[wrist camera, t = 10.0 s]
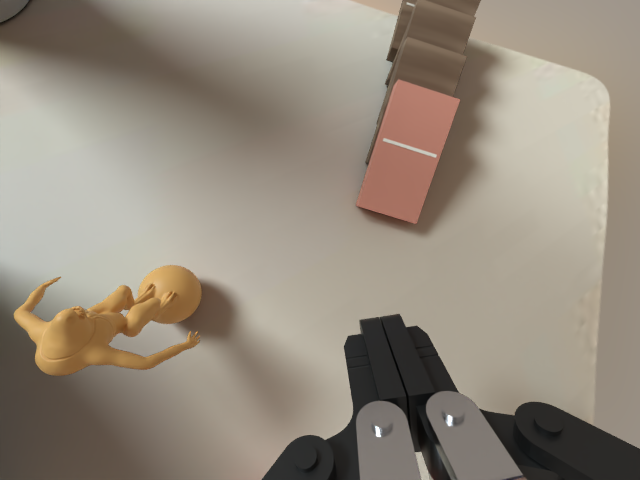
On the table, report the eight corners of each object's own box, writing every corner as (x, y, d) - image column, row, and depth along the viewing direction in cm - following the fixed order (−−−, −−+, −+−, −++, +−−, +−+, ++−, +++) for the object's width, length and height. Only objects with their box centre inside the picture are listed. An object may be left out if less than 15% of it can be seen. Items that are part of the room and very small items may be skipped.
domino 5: (416, 224, 26) (460, 99, 24) (357, 206, 26) (398, 78, 24) (410, 221, 28) (451, 104, 26) (355, 205, 28) (393, 86, 26)
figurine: (242, 291, 25) (208, 268, 13) (207, 370, 23) (132, 423, 12) (141, 251, 25) (14, 191, 13) (98, 327, 23) (-88, 338, 11)
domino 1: (442, 63, 30) (459, -16, 33) (391, 46, 30) (412, -32, 32) (434, 76, 32) (450, 0, 34) (386, 60, 32) (406, -15, 34)
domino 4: (424, 179, 27) (467, 56, 25) (367, 161, 27) (407, 36, 25) (418, 179, 29) (458, 63, 27) (365, 162, 29) (402, 45, 27)
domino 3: (433, 138, 28) (476, 17, 26) (379, 120, 28) (419, -3, 26) (427, 140, 30) (467, 26, 28) (376, 124, 30) (413, 8, 28)
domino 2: (439, 99, 29) (487, -17, 27) (388, 78, 29) (434, -40, 27) (432, 104, 31) (478, -5, 29) (384, 84, 31) (428, -27, 29)
